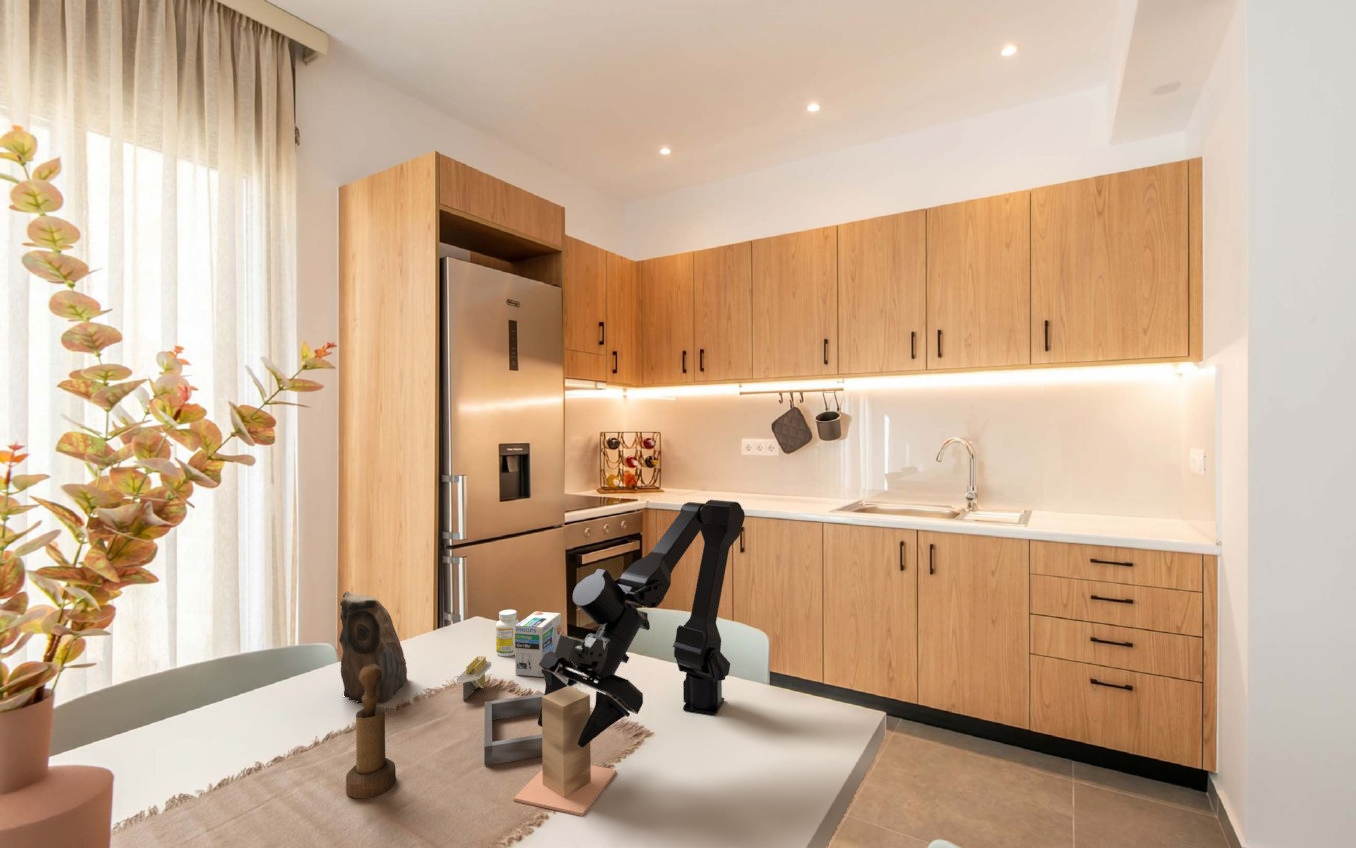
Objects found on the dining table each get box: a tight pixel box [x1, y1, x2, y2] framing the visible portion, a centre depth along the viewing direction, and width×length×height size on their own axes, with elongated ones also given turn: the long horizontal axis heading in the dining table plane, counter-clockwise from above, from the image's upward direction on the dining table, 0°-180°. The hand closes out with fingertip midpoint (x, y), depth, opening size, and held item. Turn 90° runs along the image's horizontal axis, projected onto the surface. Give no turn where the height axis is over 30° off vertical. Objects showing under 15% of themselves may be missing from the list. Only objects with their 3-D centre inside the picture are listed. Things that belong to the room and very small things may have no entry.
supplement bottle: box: [495, 609, 520, 657], centre depth 144 cm, size 5×5×10 cm
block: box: [541, 685, 592, 798], centre depth 90 cm, size 5×5×13 cm
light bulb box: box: [514, 611, 562, 678], centre depth 135 cm, size 11×7×11 cm, turn 168°
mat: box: [513, 764, 617, 817], centre depth 90 cm, size 11×11×1 cm
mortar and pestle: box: [345, 664, 397, 800], centre depth 91 cm, size 7×6×18 cm
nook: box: [483, 693, 545, 767], centre depth 105 cm, size 11×16×3 cm
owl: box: [338, 591, 408, 705], centre depth 123 cm, size 13×13×20 cm
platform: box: [456, 655, 492, 702], centre depth 122 cm, size 12×18×7 cm, turn 176°
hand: (559, 735), depth 89 cm, fingers open, 9 cm apart
